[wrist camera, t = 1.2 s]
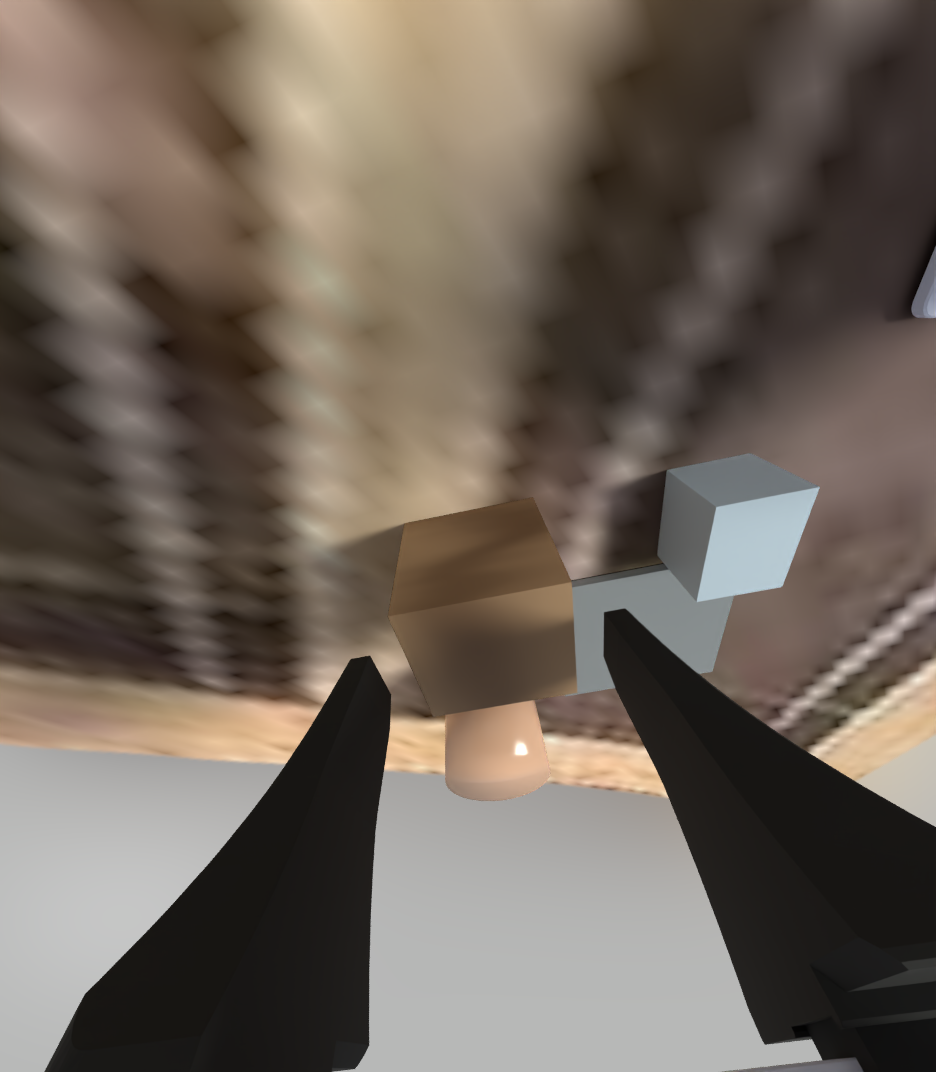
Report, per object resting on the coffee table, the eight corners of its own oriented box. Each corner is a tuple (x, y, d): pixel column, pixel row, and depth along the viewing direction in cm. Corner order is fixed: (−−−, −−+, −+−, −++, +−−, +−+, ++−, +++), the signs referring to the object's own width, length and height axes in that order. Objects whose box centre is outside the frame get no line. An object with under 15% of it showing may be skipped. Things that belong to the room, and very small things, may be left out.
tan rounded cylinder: (522, 639, 18) (546, 742, 14) (531, 691, 20) (553, 792, 16) (436, 655, 18) (433, 761, 14) (454, 704, 20) (457, 806, 16)
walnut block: (532, 496, 14) (571, 582, 9) (543, 592, 16) (577, 692, 12) (404, 522, 14) (387, 616, 10) (436, 612, 17) (433, 716, 12)
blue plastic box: (748, 451, 13) (819, 487, 11) (726, 540, 15) (782, 586, 13) (665, 468, 13) (716, 507, 11) (655, 553, 15) (696, 601, 13)
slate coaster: (738, 549, 15) (745, 555, 15) (707, 665, 20) (712, 671, 19) (554, 584, 16) (556, 590, 16) (563, 689, 20) (565, 696, 20)
